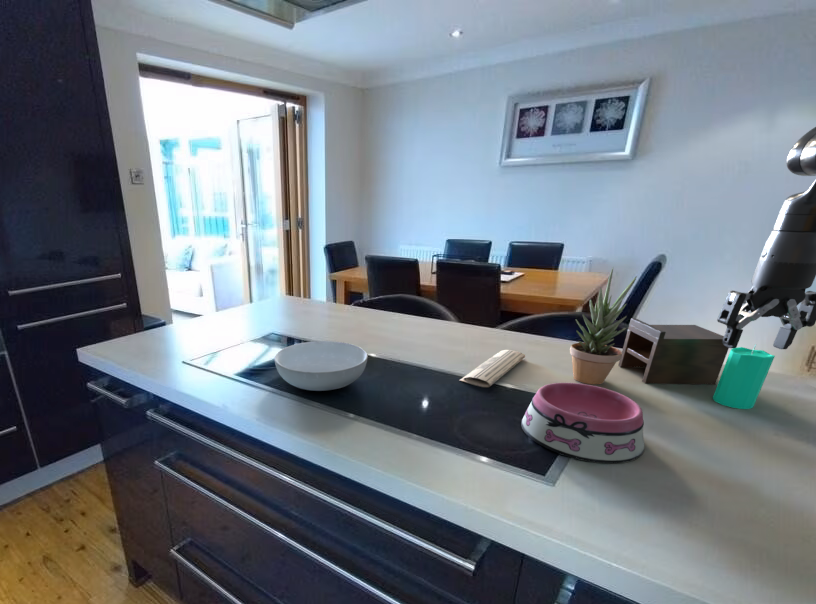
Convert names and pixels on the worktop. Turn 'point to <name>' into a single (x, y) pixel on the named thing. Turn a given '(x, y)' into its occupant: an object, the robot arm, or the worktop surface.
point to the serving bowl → (321, 364)
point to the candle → (742, 377)
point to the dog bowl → (585, 423)
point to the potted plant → (598, 340)
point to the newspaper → (493, 368)
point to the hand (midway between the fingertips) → (754, 347)
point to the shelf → (674, 353)
